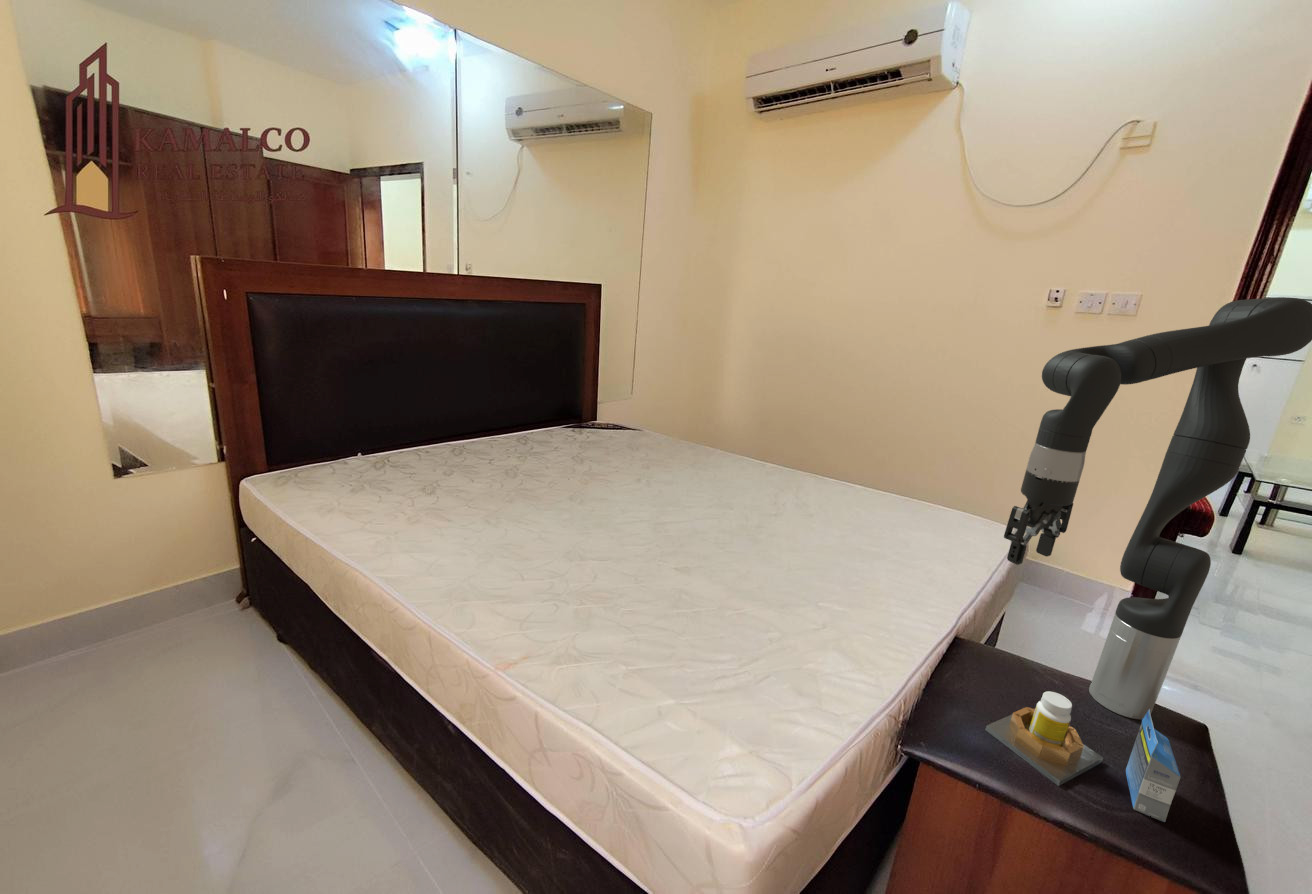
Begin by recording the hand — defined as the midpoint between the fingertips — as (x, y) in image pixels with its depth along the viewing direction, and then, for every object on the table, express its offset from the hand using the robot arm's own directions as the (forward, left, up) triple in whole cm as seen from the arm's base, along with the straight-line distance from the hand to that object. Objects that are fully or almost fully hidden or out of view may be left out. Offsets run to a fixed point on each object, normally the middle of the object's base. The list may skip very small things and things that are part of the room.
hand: (1028, 558), depth 97 cm
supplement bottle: (+5, +12, -27) cm, 30 cm away
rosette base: (+5, +12, -28) cm, 31 cm away
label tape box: (0, +24, -28) cm, 37 cm away
